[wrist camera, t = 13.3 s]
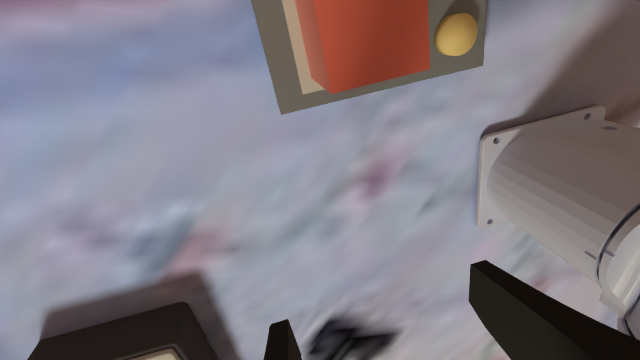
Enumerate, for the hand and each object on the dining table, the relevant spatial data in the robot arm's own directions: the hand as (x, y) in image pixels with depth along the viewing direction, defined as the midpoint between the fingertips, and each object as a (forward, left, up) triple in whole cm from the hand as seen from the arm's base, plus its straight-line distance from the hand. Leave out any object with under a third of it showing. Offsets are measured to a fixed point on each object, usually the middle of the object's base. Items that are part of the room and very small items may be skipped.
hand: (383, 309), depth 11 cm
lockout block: (-2, -9, -9) cm, 13 cm away
